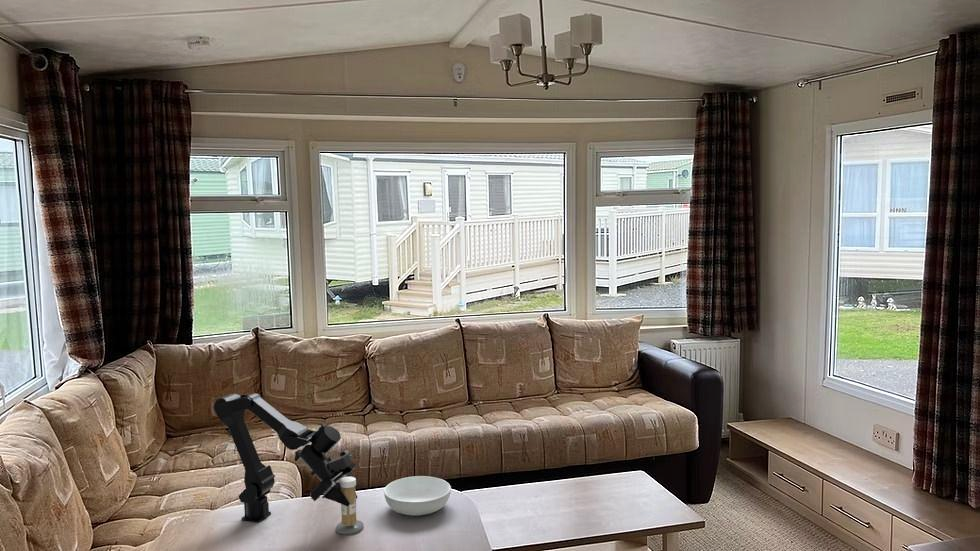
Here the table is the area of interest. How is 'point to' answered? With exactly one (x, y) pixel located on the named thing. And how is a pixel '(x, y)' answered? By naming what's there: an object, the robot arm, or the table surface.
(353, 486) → the sprinkles bottle
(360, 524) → the coaster
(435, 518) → the table surface
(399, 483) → the serving bowl
